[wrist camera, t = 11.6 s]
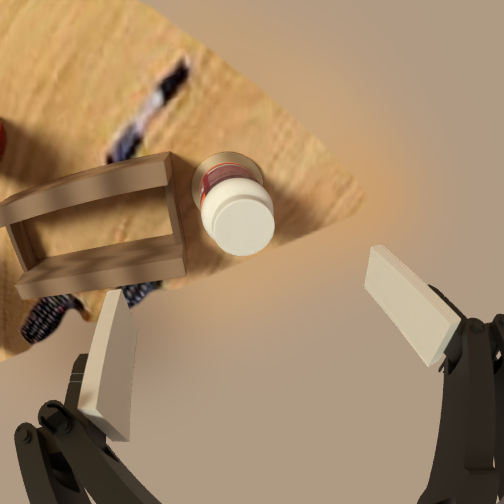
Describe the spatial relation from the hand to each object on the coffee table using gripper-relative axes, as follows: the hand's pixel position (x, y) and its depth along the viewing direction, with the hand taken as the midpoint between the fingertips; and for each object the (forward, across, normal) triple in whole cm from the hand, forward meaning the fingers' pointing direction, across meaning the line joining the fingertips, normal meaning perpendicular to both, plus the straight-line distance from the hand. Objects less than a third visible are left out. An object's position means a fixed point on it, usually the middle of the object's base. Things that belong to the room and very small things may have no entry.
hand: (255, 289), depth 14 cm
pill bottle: (+19, +1, 0) cm, 19 cm away
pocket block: (+20, -16, -1) cm, 25 cm away
